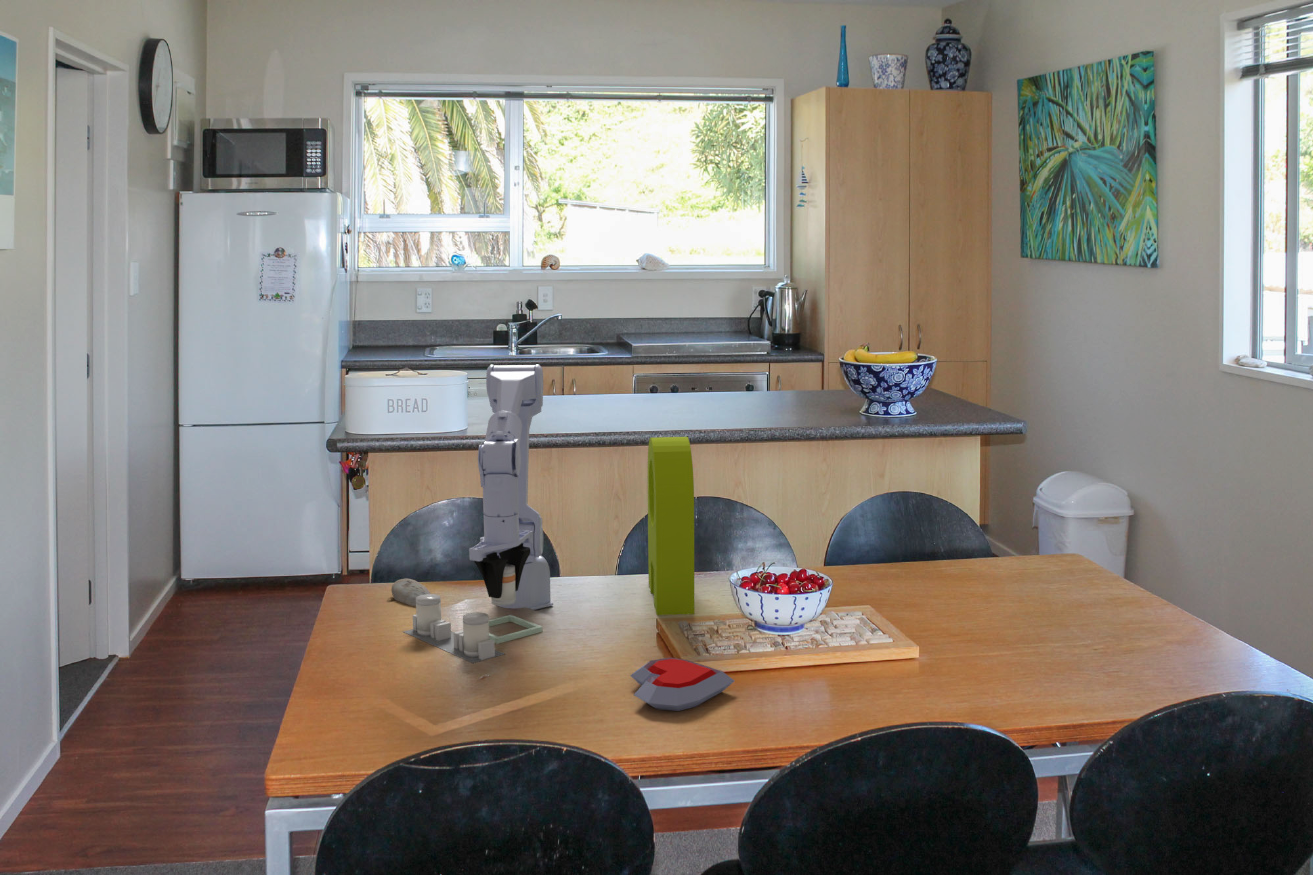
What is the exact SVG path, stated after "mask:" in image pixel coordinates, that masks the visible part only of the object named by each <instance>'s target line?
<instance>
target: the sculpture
mask: <svg viewBox="0 0 1313 875" xmlns="http://www.w3.org/2000/svg"><path fill="white" fill-rule="evenodd" d="M630 677H631V678H632V679H633V680H635V682H636V683H637V684H638V685H640V687H639V689H637V690H636V691H635V692H634V694H633V696H635V697H636V698H638V699H640V700H641V701H643V702H644V703H646V704H648V705H649V706H651V707H653V708H655V710H661V711H662V710H663V711H664V710H665V711H675V712H676V711H677V712H679V711H684V710H687V709H688V710H689V709H691V708H692V709H693V708H696V707H698V706H699V705H701V704H703V703H704V702H706V701H708V700H710V699H712V698H713V697H715V696H718V695H719V694H720V693H722V692H724V691H725V690H726V689H727V688H729V687H730V686H731V685H732V684H733V683H734V682H735V679H733V678H732V677H730V676H729V675H728V674H727V673H725V672H724V671H722V670H720V669H717V668H713V667H711V666H707V665H705V664H701V663H699V662H695V661H691V660H689V659H683V658H676V657H671V656H670V657H669V656H668V657H664V658H657V659H651V660H650V661H648V662H647V663H645V664H644V665H642V666H640V667H639V668H638V669H637V670H635V671H634V672H632V673H631V674H630Z"/></svg>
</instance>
